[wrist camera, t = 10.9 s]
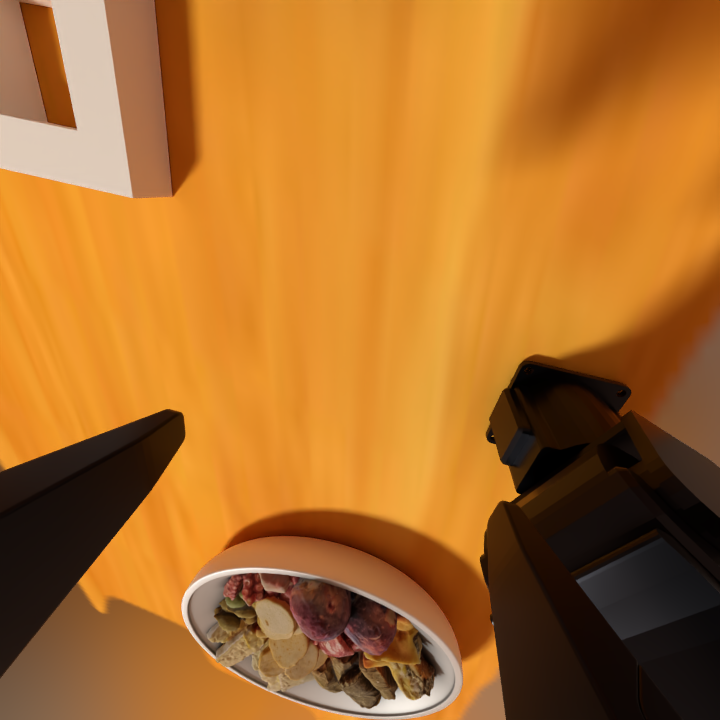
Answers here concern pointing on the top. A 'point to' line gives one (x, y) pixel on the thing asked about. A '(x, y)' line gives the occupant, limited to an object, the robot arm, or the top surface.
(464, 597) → the top surface
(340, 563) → the bowl
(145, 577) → the top surface
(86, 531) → the robot arm
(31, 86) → the pin socket block
